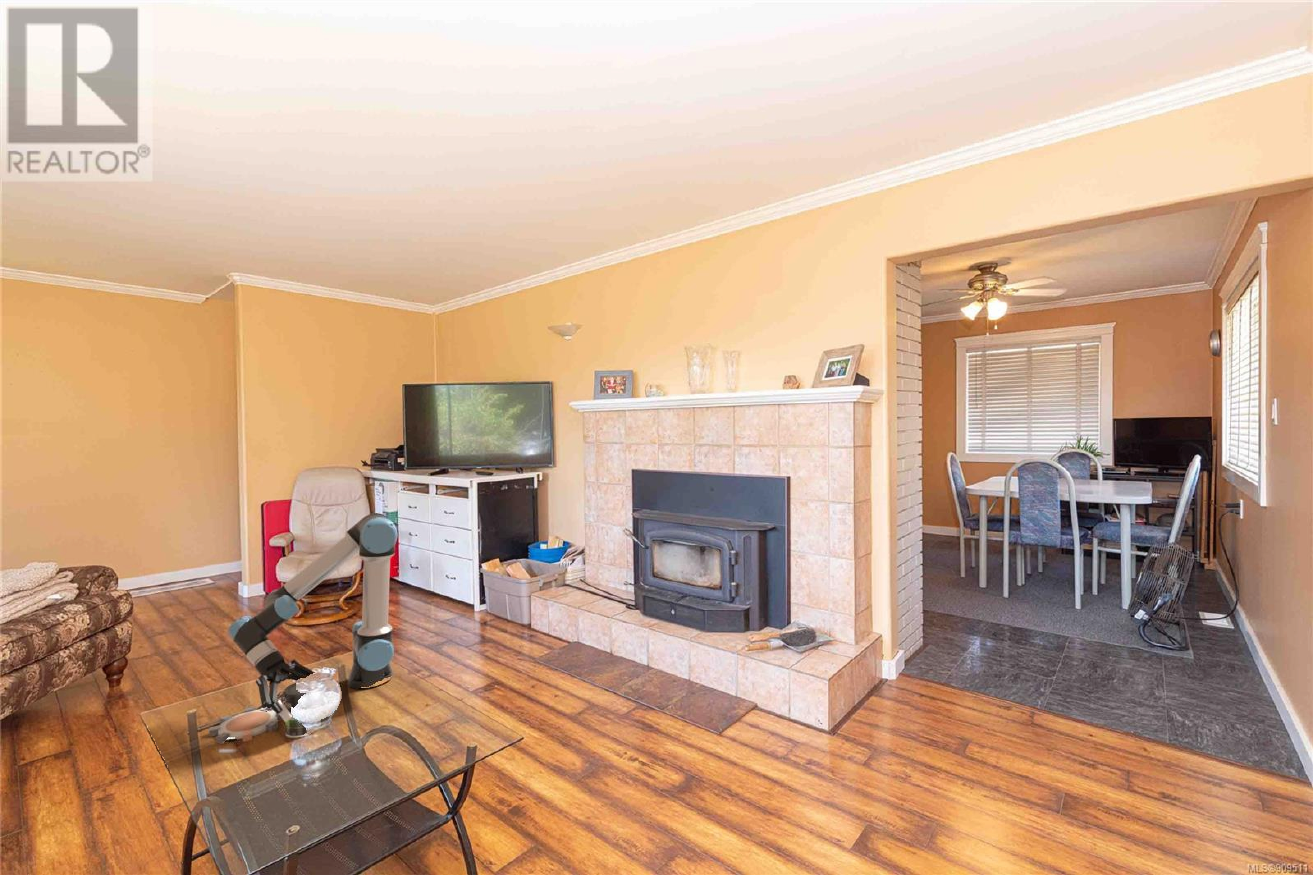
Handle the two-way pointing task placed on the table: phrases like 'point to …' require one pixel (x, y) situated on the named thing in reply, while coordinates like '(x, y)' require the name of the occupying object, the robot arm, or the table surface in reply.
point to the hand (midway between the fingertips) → (306, 708)
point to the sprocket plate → (245, 724)
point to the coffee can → (292, 725)
